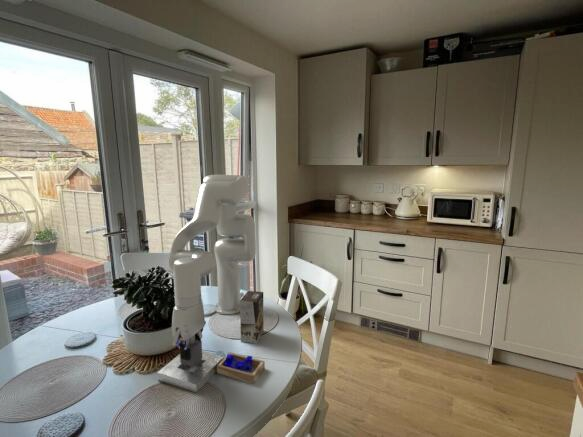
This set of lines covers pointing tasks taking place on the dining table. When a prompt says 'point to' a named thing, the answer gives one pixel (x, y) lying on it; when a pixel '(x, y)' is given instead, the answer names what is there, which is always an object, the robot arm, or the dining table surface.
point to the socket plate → (190, 372)
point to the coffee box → (251, 316)
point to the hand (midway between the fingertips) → (191, 353)
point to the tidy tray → (241, 374)
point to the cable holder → (238, 363)
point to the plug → (193, 352)
